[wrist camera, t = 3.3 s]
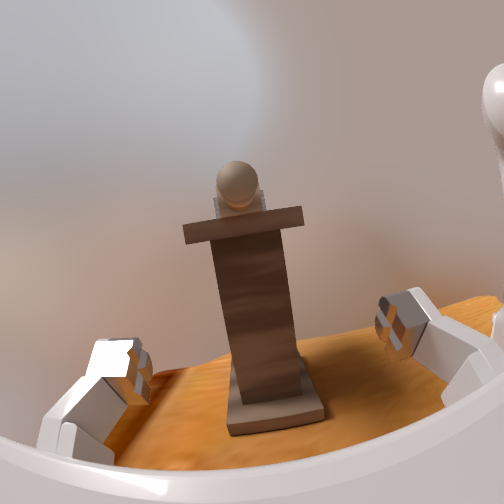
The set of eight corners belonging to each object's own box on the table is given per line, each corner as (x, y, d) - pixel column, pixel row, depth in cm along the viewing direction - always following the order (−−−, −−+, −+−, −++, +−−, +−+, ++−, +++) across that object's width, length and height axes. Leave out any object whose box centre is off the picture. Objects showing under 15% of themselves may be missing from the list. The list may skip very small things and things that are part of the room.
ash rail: (273, 200, 17) (265, 152, 17) (208, 210, 17) (201, 163, 17) (255, 217, 42) (252, 197, 42) (229, 221, 42) (225, 202, 42)
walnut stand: (324, 419, 30) (301, 205, 28) (229, 435, 30) (182, 224, 28) (297, 356, 50) (277, 215, 48) (233, 366, 50) (207, 226, 48)
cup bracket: (267, 215, 43) (262, 190, 43) (217, 224, 43) (213, 198, 43) (264, 217, 48) (260, 194, 48) (220, 224, 48) (216, 201, 47)
